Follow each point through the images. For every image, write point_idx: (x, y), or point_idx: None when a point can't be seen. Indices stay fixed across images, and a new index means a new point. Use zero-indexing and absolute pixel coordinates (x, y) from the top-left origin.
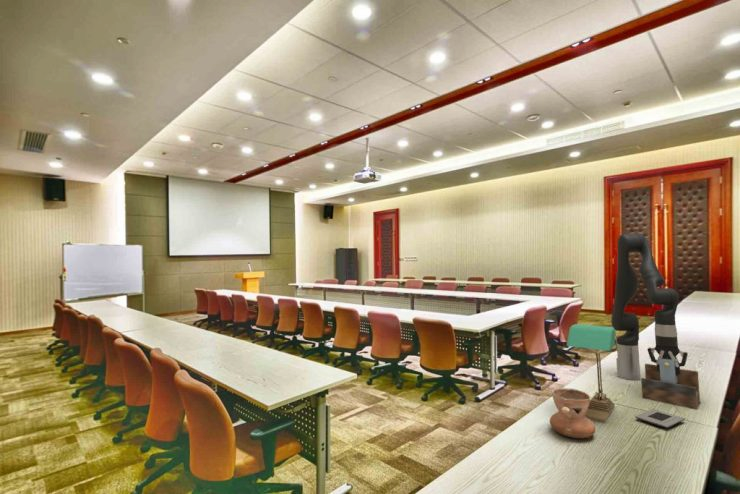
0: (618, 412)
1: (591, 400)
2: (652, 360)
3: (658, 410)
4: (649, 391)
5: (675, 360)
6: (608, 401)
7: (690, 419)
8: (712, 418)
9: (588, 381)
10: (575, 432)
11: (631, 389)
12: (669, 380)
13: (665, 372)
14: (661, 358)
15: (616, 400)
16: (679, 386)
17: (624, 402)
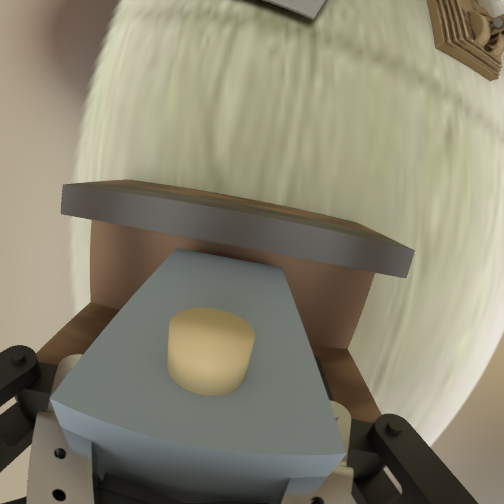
0: (413, 5)
1: (487, 12)
2: (400, 428)
3: (290, 6)
4: (339, 223)
5: (42, 417)
6: (458, 16)
7: (169, 30)
8: (90, 98)
9: (488, 332)
10: None
11: (382, 334)
12: (214, 265)
13: (240, 302)
14: (293, 479)
15: (445, 132)
16: (150, 196)
17: (420, 116)
